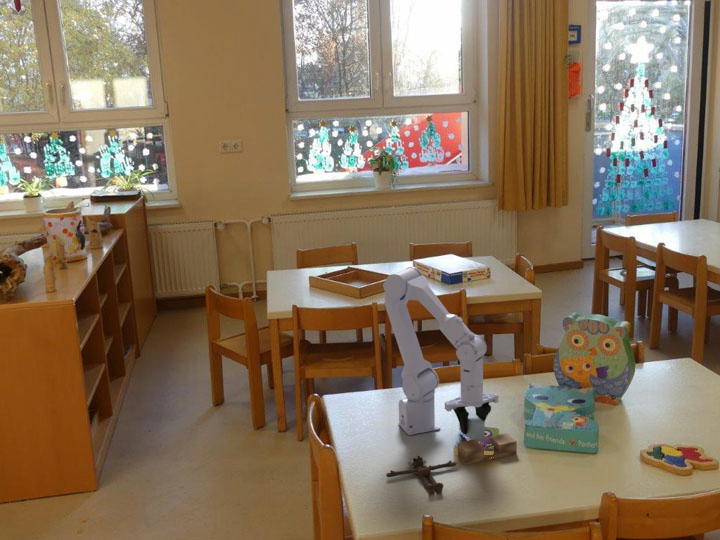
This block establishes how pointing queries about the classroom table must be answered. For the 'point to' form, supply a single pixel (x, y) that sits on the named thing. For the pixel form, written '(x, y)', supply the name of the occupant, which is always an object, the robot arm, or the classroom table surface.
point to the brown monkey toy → (424, 473)
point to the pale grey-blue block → (475, 427)
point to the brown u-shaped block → (475, 451)
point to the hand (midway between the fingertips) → (471, 431)
